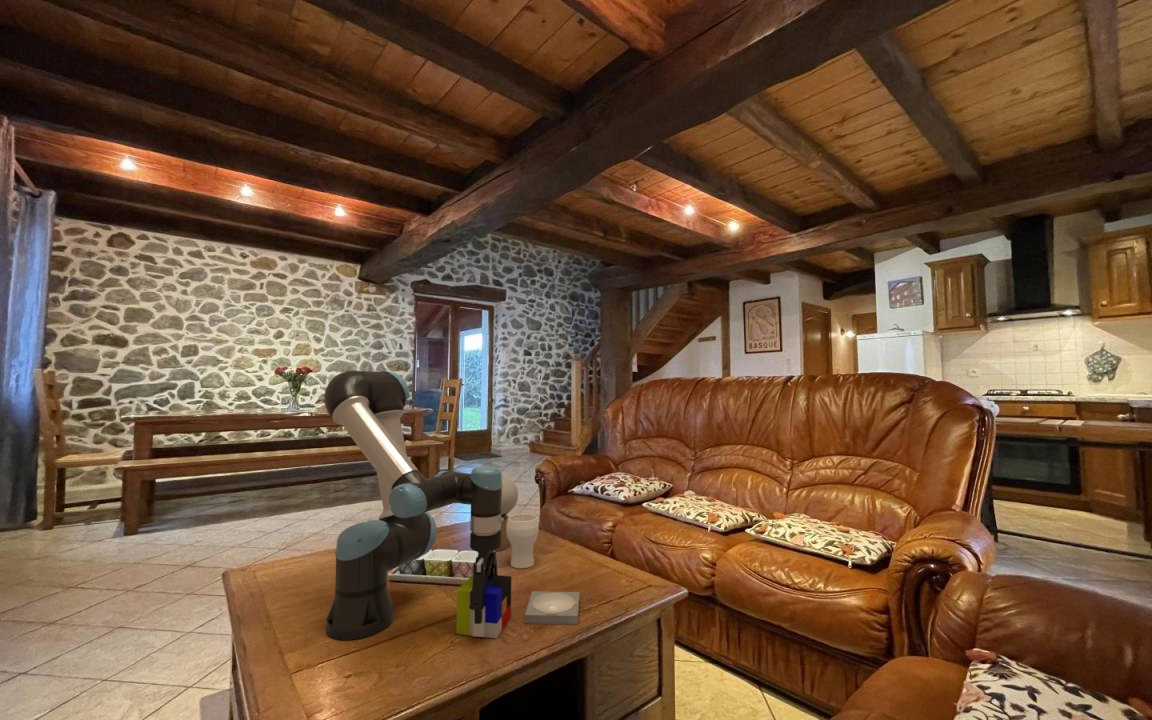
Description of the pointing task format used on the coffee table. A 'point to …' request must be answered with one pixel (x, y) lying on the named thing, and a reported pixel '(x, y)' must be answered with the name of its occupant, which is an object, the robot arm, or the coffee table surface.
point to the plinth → (553, 608)
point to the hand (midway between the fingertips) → (484, 623)
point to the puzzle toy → (494, 606)
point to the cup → (522, 538)
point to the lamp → (507, 507)
